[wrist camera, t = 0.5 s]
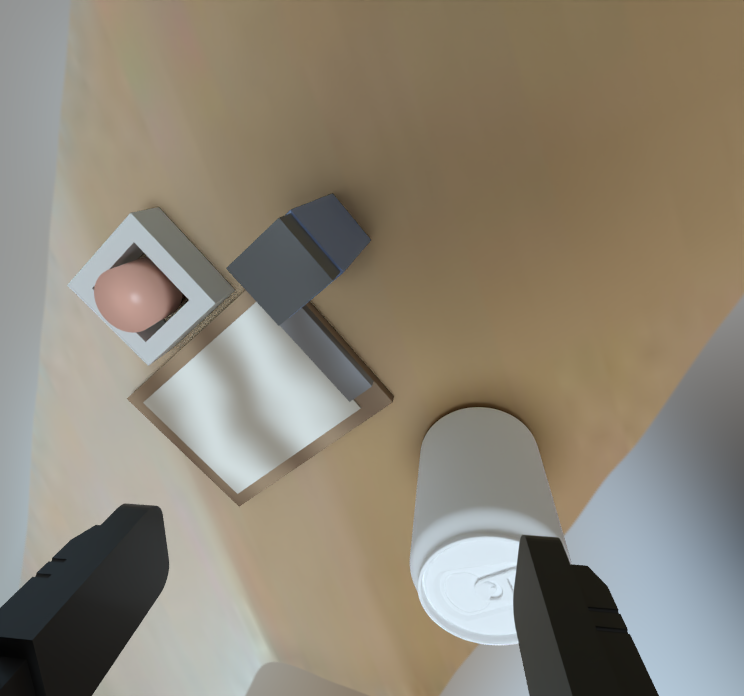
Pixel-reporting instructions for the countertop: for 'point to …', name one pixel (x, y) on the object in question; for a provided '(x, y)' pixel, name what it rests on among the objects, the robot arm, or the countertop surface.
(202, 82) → the countertop surface
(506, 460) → the beverage can
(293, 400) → the clipboard
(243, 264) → the blue grey block
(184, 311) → the button housing
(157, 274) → the button
